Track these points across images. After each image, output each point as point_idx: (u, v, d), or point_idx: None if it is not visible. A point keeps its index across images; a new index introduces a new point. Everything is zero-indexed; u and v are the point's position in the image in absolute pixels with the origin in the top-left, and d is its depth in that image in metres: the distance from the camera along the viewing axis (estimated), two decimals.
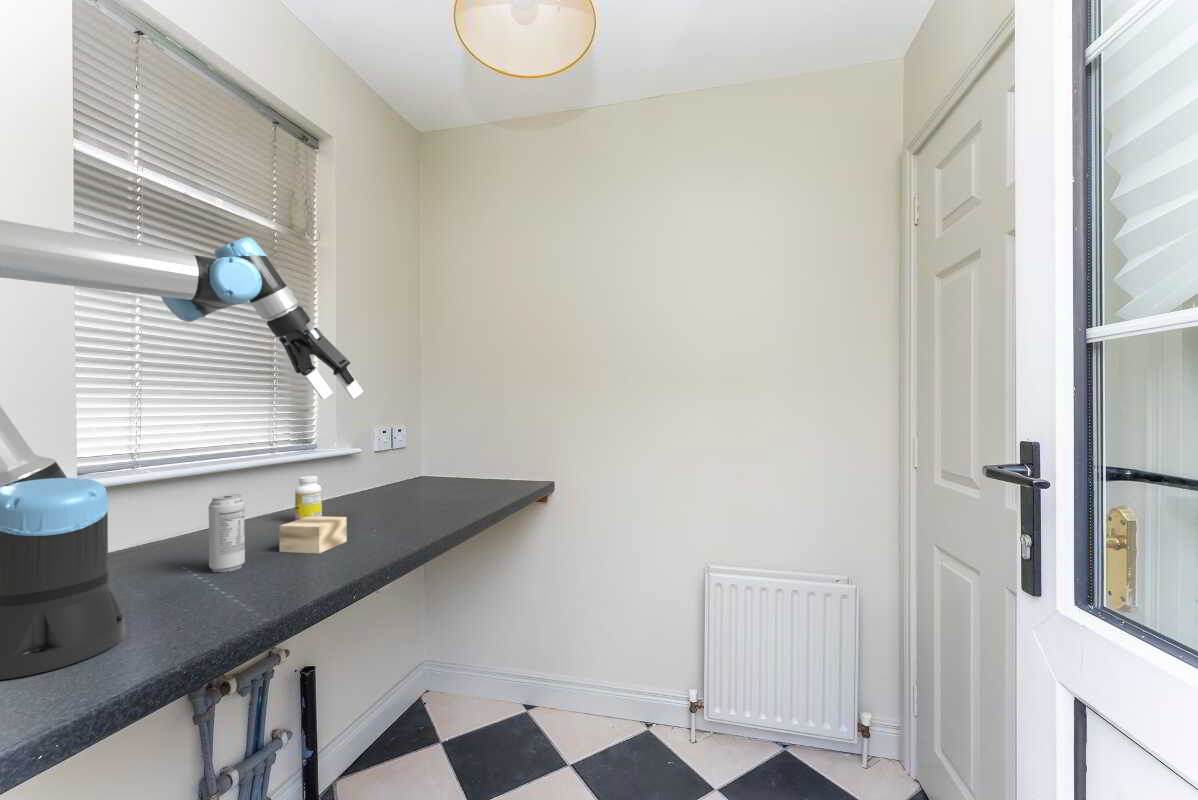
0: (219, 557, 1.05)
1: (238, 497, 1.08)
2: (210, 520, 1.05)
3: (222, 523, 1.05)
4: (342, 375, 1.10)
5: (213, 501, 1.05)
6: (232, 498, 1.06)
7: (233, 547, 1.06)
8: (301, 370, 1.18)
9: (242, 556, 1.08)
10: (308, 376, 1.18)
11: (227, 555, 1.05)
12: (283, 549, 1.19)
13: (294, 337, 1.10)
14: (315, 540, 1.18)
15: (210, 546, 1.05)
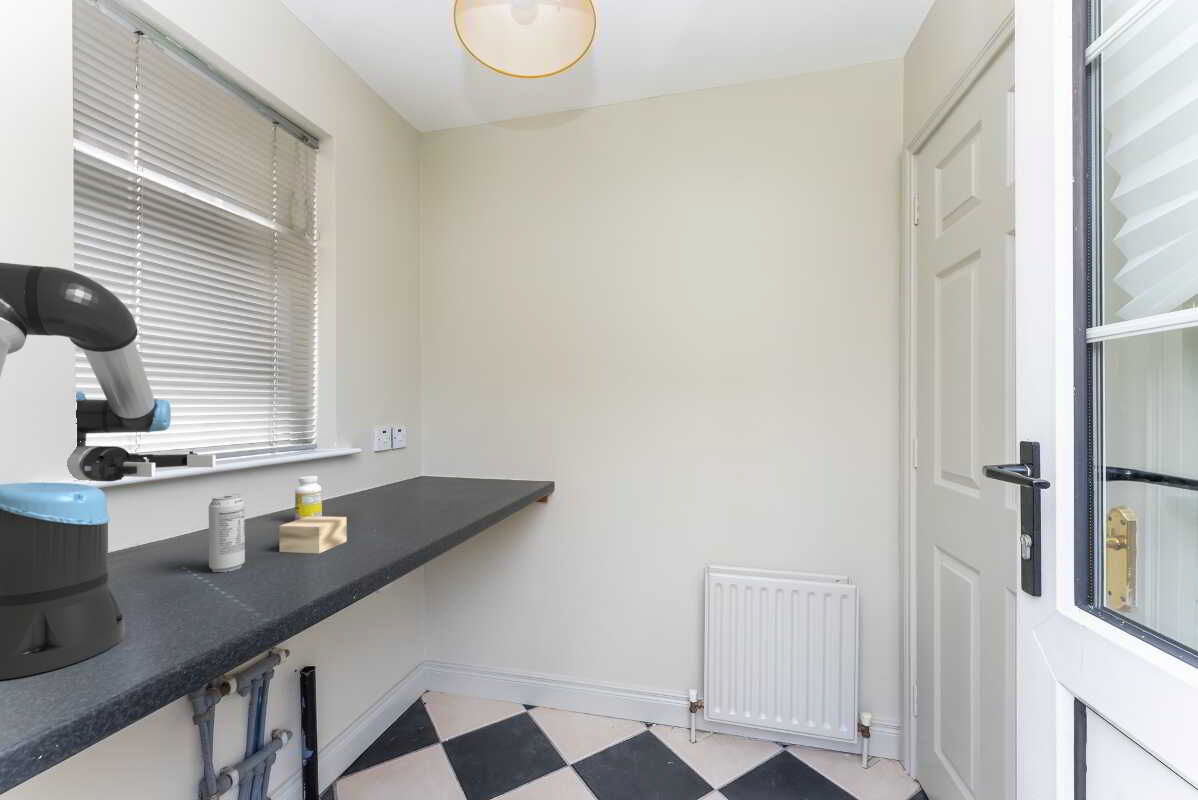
0: (219, 557, 1.05)
1: (238, 497, 1.08)
2: (210, 520, 1.05)
3: (222, 523, 1.05)
4: None
5: (213, 501, 1.05)
6: (232, 498, 1.06)
7: (233, 547, 1.06)
8: (117, 463, 1.03)
9: (242, 556, 1.08)
10: None
11: (227, 555, 1.05)
12: (283, 549, 1.19)
13: None
14: (315, 540, 1.18)
15: (210, 546, 1.05)
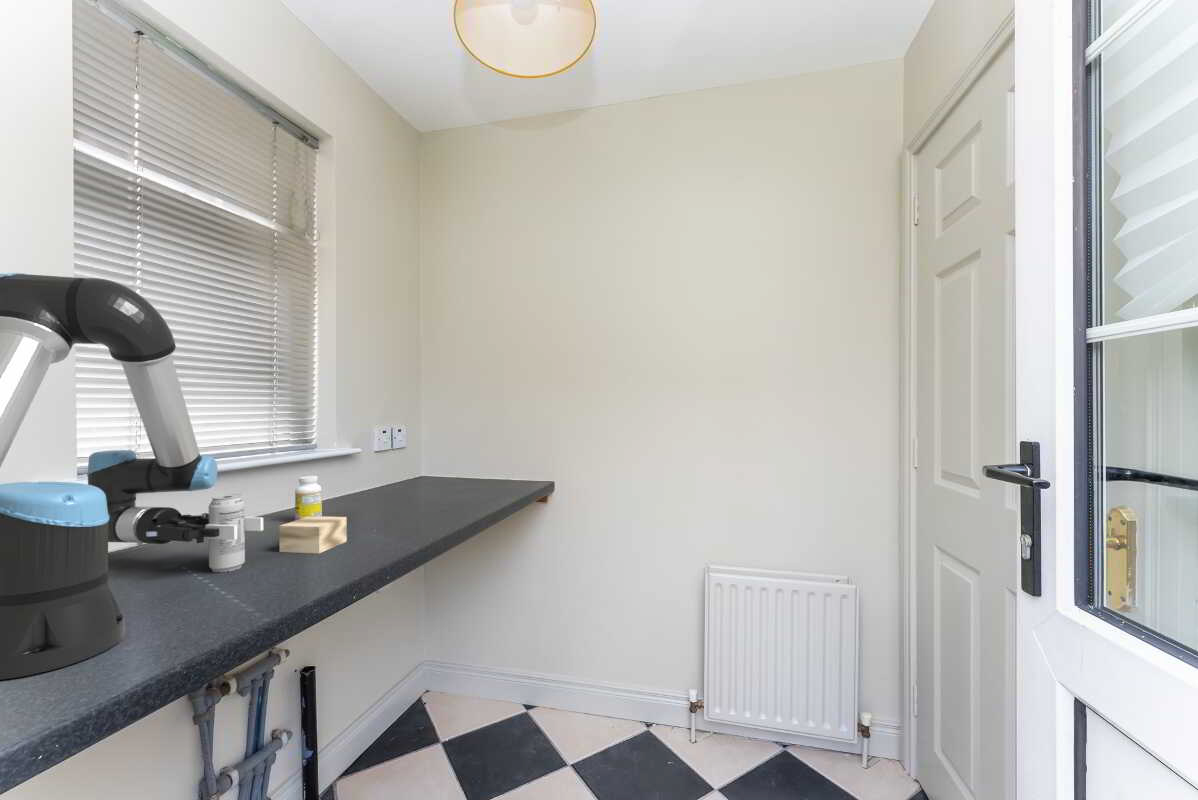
0: (219, 557, 1.05)
1: (238, 497, 1.08)
2: (210, 520, 1.05)
3: (222, 523, 1.05)
4: None
5: (213, 501, 1.05)
6: (232, 498, 1.06)
7: (233, 547, 1.06)
8: (196, 526, 1.04)
9: (242, 556, 1.08)
10: None
11: (227, 555, 1.05)
12: (283, 549, 1.19)
13: None
14: (315, 540, 1.18)
15: (210, 546, 1.05)
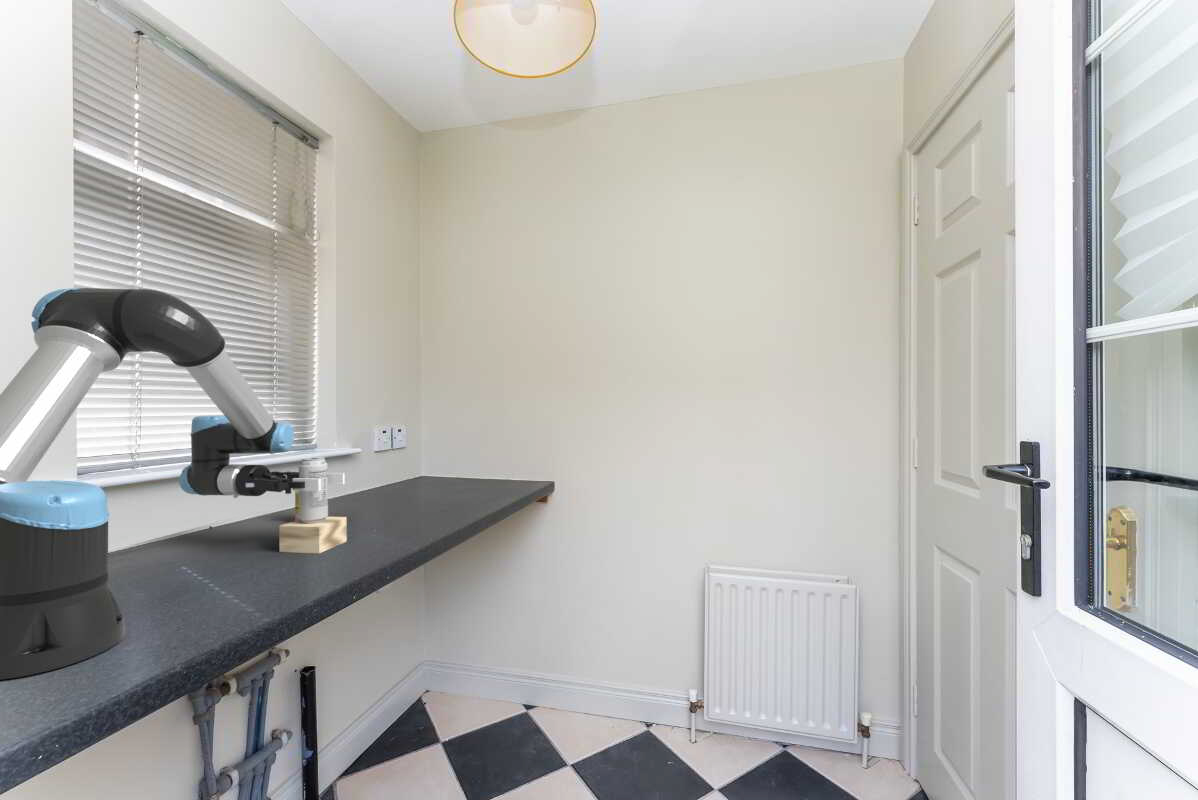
0: (309, 510, 1.20)
1: (323, 459, 1.23)
2: None
3: None
4: None
5: (303, 461, 1.21)
6: (319, 459, 1.22)
7: (320, 501, 1.22)
8: (285, 479, 1.19)
9: (327, 510, 1.24)
10: None
11: (315, 508, 1.21)
12: (283, 549, 1.19)
13: None
14: (315, 540, 1.18)
15: (301, 500, 1.21)
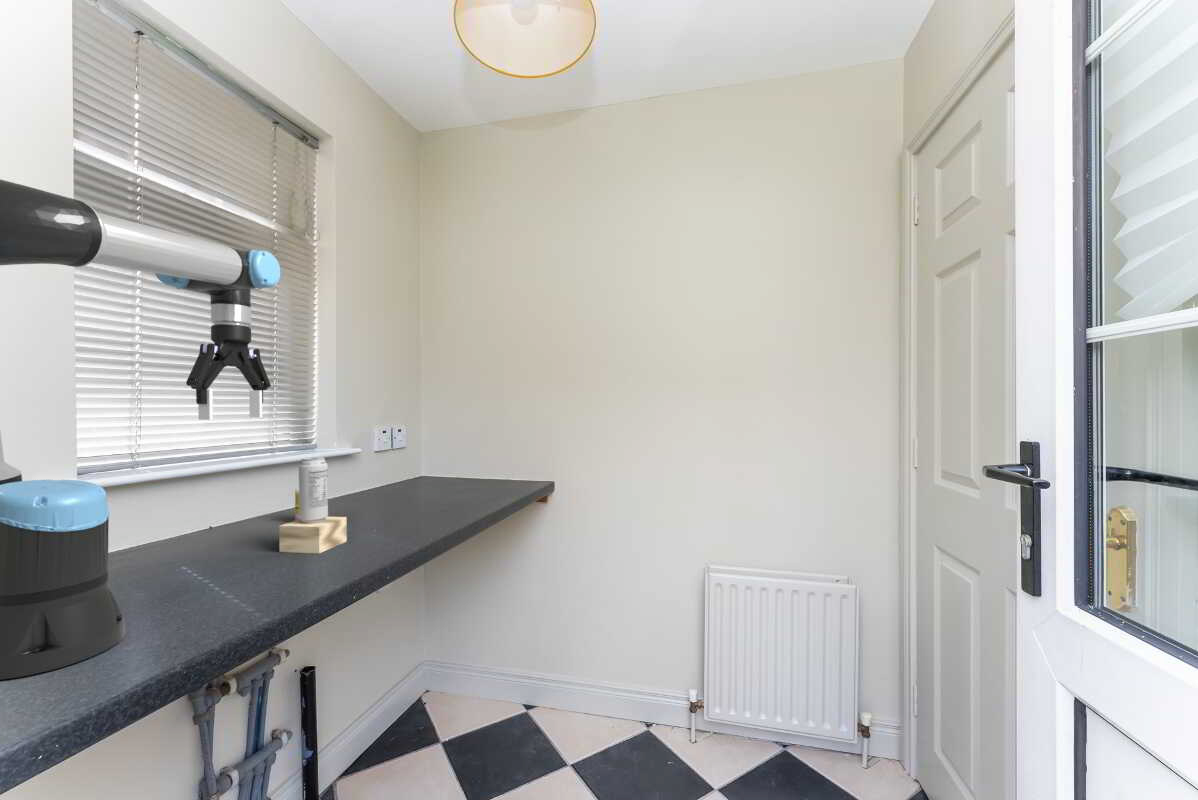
0: (309, 510, 1.20)
1: (323, 459, 1.23)
2: (301, 478, 1.21)
3: (311, 480, 1.21)
4: (261, 393, 1.26)
5: (302, 462, 1.21)
6: (319, 459, 1.22)
7: (320, 501, 1.22)
8: (208, 382, 1.11)
9: (327, 511, 1.24)
10: None
11: (315, 508, 1.21)
12: (283, 549, 1.19)
13: (236, 348, 1.19)
14: (315, 540, 1.18)
15: (301, 501, 1.21)
